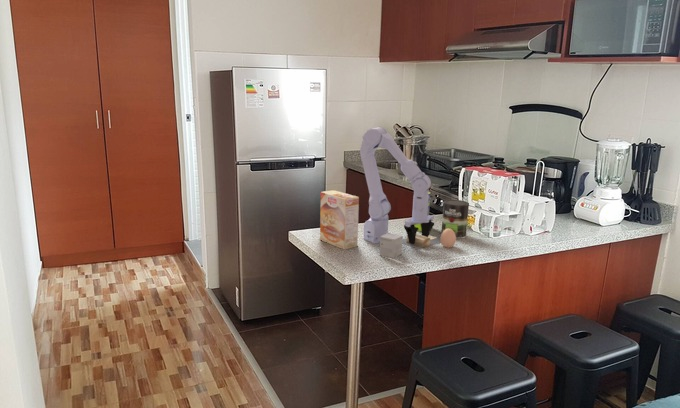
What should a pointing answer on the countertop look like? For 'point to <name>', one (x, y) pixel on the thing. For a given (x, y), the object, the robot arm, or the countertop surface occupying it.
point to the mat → (433, 241)
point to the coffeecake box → (339, 219)
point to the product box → (390, 245)
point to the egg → (448, 238)
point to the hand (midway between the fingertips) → (418, 241)
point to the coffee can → (455, 217)
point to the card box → (420, 241)
